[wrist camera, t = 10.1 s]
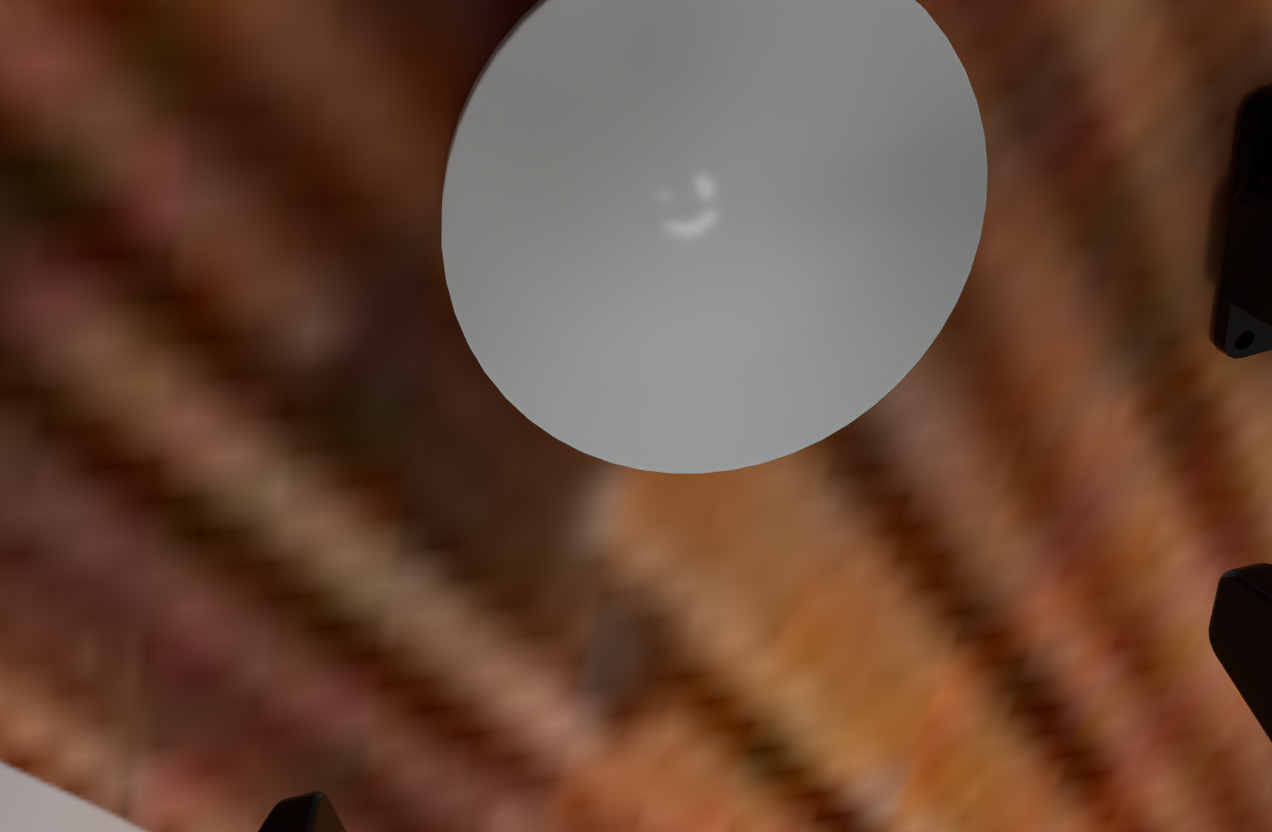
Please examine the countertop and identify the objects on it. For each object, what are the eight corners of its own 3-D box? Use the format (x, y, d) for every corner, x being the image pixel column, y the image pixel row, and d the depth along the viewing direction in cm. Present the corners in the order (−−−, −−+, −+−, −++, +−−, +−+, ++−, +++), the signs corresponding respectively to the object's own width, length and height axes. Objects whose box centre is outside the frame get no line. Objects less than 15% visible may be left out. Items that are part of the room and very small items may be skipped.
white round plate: (951, -140, 17) (982, -140, 16) (967, 375, 23) (991, 399, 22) (358, 12, 17) (353, 22, 16) (526, 497, 23) (530, 527, 22)
